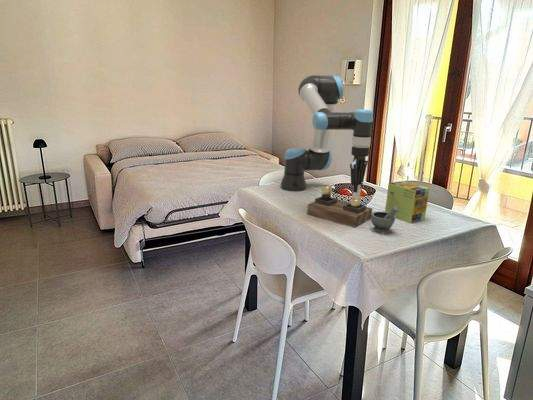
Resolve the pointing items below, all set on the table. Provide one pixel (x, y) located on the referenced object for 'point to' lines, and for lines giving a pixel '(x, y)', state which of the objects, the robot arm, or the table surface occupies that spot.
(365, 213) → the mount
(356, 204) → the knob
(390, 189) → the protein box
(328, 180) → the table surface
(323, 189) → the knob
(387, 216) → the mortar and pestle
